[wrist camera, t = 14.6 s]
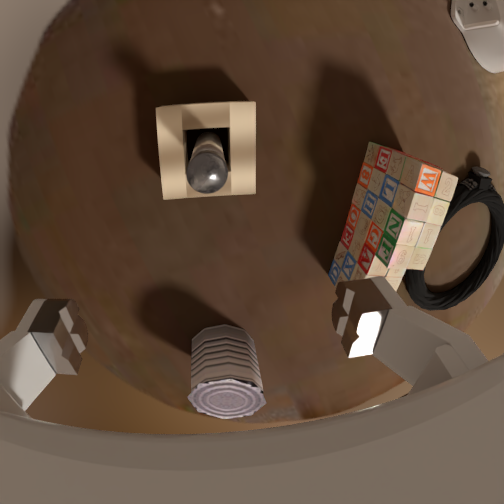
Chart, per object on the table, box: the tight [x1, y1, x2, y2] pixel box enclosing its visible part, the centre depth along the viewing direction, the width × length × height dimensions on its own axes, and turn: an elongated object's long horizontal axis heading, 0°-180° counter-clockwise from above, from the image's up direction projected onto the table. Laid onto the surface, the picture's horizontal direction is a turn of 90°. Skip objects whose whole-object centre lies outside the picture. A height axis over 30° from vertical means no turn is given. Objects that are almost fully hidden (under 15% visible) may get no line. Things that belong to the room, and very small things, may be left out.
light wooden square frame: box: [156, 101, 256, 200], centre depth 31 cm, size 10×10×5 cm
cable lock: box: [405, 166, 504, 311], centre depth 45 cm, size 28×4×30 cm
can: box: [187, 324, 266, 419], centre depth 45 cm, size 11×11×12 cm
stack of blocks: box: [328, 142, 458, 291], centre depth 36 cm, size 21×6×12 cm, turn 170°
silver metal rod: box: [186, 132, 228, 194], centre depth 28 cm, size 3×3×14 cm
